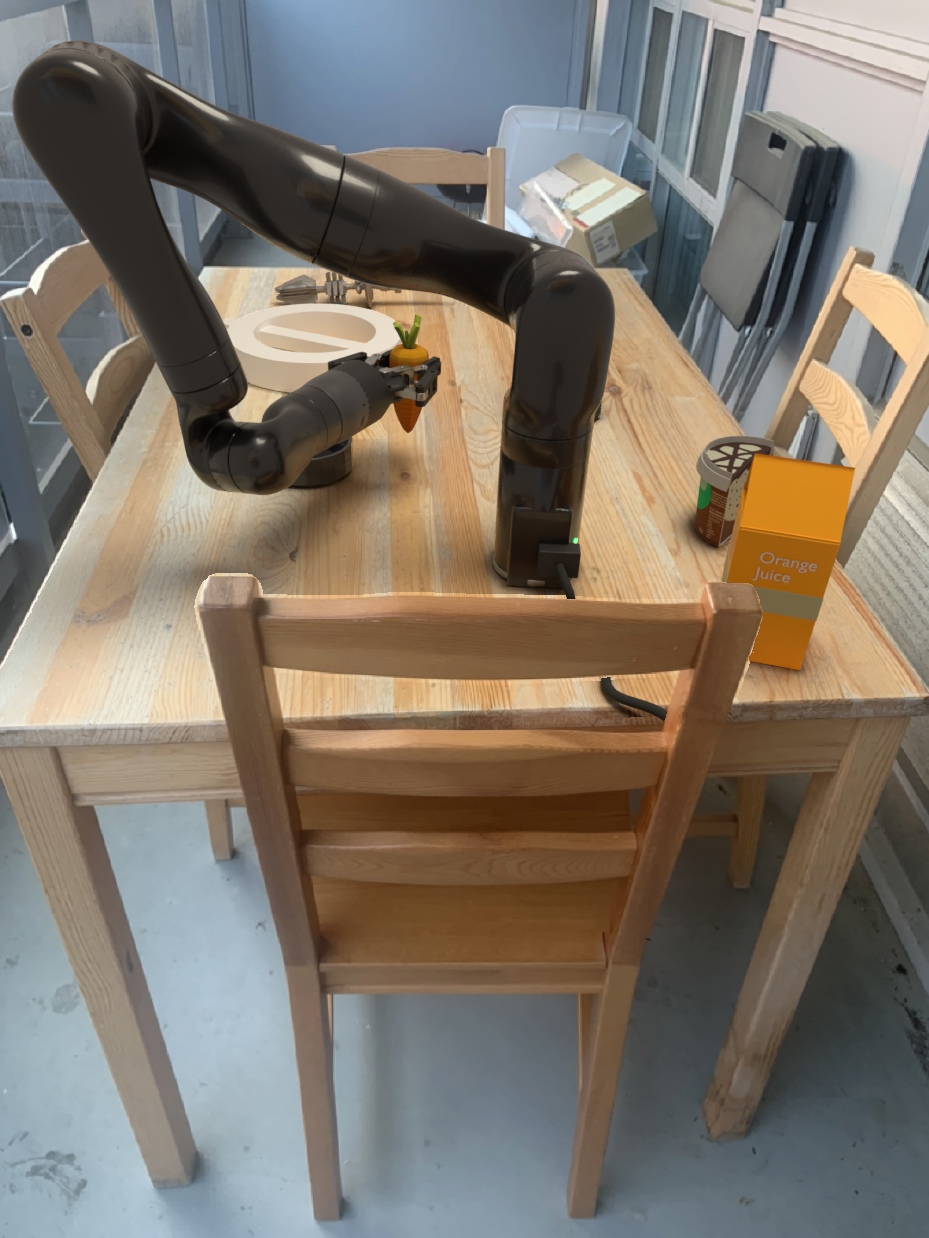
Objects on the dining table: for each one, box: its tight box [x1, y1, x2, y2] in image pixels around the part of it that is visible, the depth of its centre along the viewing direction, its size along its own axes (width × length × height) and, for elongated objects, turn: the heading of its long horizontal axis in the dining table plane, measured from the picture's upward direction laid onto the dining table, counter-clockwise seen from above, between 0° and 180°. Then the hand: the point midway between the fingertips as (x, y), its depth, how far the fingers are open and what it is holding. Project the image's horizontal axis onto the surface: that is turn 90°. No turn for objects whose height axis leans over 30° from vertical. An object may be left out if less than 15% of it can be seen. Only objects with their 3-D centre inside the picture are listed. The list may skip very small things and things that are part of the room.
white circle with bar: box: [222, 303, 403, 393], centre depth 149 cm, size 28×28×5 cm
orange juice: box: [720, 453, 856, 671], centre depth 87 cm, size 8×9×20 cm
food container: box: [694, 435, 776, 549], centre depth 108 cm, size 12×6×10 cm, turn 141°
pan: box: [289, 436, 355, 488], centre depth 119 cm, size 12×12×4 cm
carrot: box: [389, 313, 430, 434], centre depth 115 cm, size 5×5×15 cm
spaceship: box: [274, 271, 403, 308], centre depth 171 cm, size 8×35×8 cm
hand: (417, 360), depth 115 cm, fingers closed on carrot, 5 cm apart
